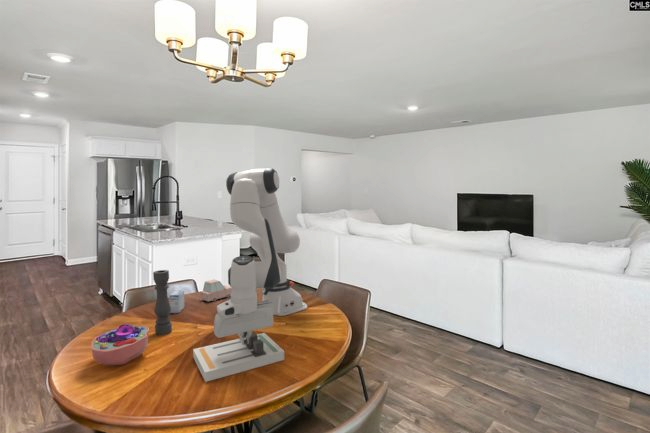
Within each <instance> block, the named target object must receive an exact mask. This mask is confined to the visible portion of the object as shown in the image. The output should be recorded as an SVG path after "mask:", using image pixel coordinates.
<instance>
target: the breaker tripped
mask: <svg viewBox="0 0 650 433" xmlns="http://www.w3.org/2000/svg"><path fill="white" fill-rule="evenodd" d="M254 340H258V336H257V333H256V332H252V334H251V336H250V338H249V344H246V346H247V347H248V349H249V350H250V349H253V341H254Z"/></svg>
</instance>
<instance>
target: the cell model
mask: <svg viewBox="0 0 650 433" xmlns="http://www.w3.org/2000/svg"><path fill="white" fill-rule="evenodd" d="M149 333H150V328H149V327H148V326H144V325H135V326H133V324H130V323H129V324H128V323H124V324H121V325H120V326H119V327H118V328H114V329H110V330H107V331H105V332H103V333H101V334H98V335H97V336H95V338H93V340H91V341H90V347H91V354H92V359H93V360H94V361H95V362H97V363H98V364H101V365H105V366H111V367H112V366H121V365H126V364H127V363H129V362H131V361H133V360H134V359H136V358H137V357H139V356H141V355H142V354H143V353H144V352H145V351H146V349H147V347H148V344H149Z"/></svg>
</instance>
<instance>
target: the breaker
mask: <svg viewBox="0 0 650 433" xmlns="http://www.w3.org/2000/svg"><path fill="white" fill-rule="evenodd" d="M251 353H252V354H253V355H254V357H257V356H260V355H264V354H266V352H265V351H264V350H263V341H262V340H261V339H258V340H254V341H253V351H251Z"/></svg>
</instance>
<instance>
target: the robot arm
mask: <svg viewBox="0 0 650 433" xmlns="http://www.w3.org/2000/svg"><path fill="white" fill-rule="evenodd" d="M279 187H280V177H279V175H278V171H276V169H274V168H271V167H266V168H251V169H248V170H243V171H239V172H237V171H236V172H233V173H231V174H229V175H228V177H227V178H226V190H227V192H228V194H229V195H230V204H229V212H230V218H231V221H232V223H233V224H234V225H235V226H236V227H237V228H239V229H240V230H243V231H245V232H248V233H251V234H250V235H249V244H250V247H251V248H252V249H253V250H254V251H255V252H256V254H257V255H258V257H259V259H260V261H255V258H254V257H252V256H248V255H239V256H237V257H235V258H233V259H232V261H231V263H230V264H231V266H230V267H229V268H228V270H227V278H228V279H227V281H228V282H227V283H228V285H229V287H231V288H232V292H231V296H230V299H229V298H228V300H226V301H224V302H222V303H220V304H218V305H217V306H216V311H217V313H216V314H215V316H214V322H213V334H214V336H215V337H217V338H219V339H220V338H223V337H230V336H233V335H237V336H238V337H239V339H240V338H241V344H242V345H244V344H249V338H250V336H251V334H252V333H253V331H257V330H262V329H267V328H272V326H273V325H274V324H275V323H274V316H280V317H284V316H287V315H292V314H294V313H299V312H301V311H304V310H307V309H308V305H307V303H305V302H303V298H302V295H301V293H300V292H298V291H296V290H295V289H293V288H292V287H294V285H295V282H293V281H292V280H291V281H290V280H288V279H287V277H288V275H287V269H288V268H287V264H286V262H285V261H283V259H281V258H280V256H279V255H278V254H290V253H295V252H296V251H297V250H298V248H299V247H300V243H301V240H300V237H299V236H300V235H299V234H298V233H297V232H296V231H295V230H293V229H292V228H291V226H290V227H289V225H288V224H287V223H286V221H285V220H284V218H283V216H282V213H281V210H280V206H279V203H278V199H277V194H276V192H277V191H278V189H279ZM257 289H262V290H261V292H262V300H261V301H258V292H257ZM243 332H247V335H246V337H245V338H243V337H242V336H243Z"/></svg>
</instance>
